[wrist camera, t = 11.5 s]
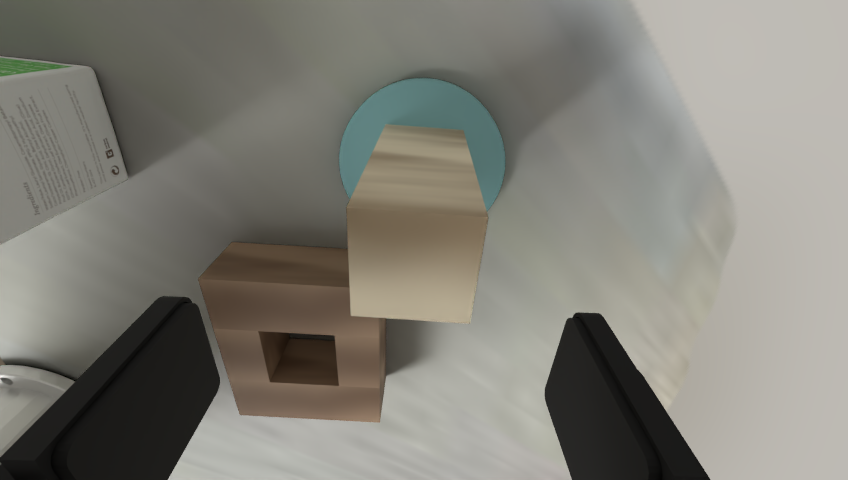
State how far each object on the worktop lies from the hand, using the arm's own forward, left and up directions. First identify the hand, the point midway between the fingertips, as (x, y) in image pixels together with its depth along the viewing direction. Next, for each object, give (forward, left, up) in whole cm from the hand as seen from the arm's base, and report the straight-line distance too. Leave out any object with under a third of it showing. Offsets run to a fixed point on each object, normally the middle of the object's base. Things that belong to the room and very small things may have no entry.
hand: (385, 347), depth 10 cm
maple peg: (+1, -1, -13) cm, 12 cm away
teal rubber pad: (0, -1, -14) cm, 13 cm away
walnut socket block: (-12, +6, -14) cm, 19 cm away
